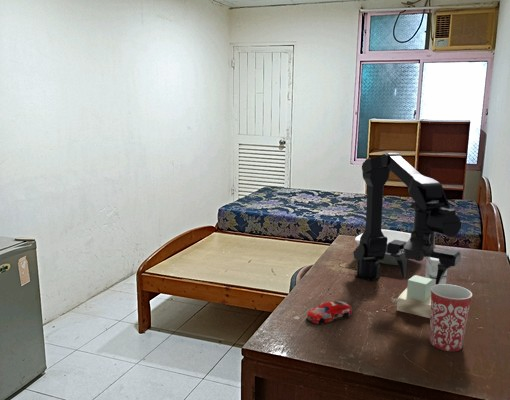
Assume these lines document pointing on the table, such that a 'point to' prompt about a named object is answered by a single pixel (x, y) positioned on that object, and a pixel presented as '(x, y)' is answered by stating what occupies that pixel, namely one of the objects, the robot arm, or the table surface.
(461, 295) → the mug
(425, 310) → the slab
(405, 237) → the bowl
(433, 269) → the ink box
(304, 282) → the table surface
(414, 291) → the cube
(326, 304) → the race car
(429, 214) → the robot arm
